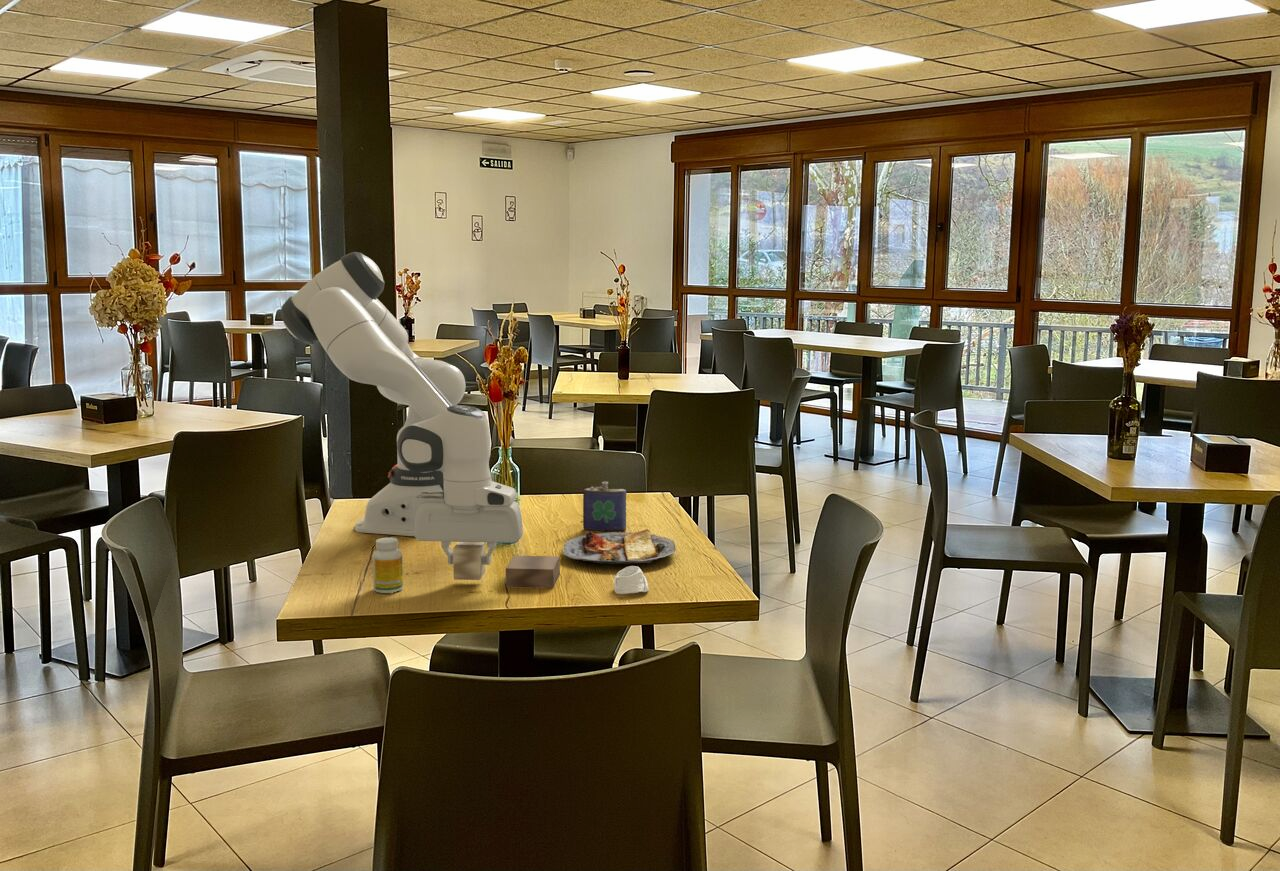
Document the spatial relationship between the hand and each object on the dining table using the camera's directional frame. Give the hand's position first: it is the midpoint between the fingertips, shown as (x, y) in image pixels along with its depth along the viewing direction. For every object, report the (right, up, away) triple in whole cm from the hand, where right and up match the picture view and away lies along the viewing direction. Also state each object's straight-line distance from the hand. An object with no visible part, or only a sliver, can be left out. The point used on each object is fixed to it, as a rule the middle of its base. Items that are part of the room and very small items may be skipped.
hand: (469, 563), depth 201 cm
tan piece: (0, -2, 0) cm, 2 cm away
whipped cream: (+31, -5, -2) cm, 31 cm away
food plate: (+28, -1, +22) cm, 36 cm away
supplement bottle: (-15, -5, -3) cm, 16 cm away
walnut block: (+12, -4, +4) cm, 13 cm away
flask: (+24, +2, +42) cm, 49 cm away
